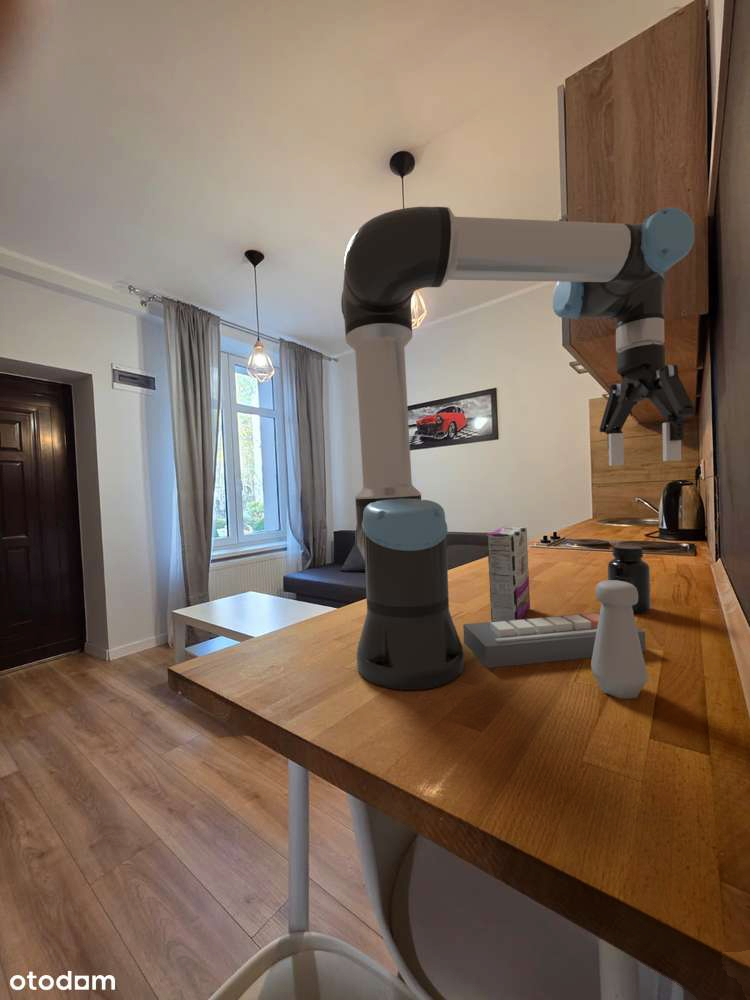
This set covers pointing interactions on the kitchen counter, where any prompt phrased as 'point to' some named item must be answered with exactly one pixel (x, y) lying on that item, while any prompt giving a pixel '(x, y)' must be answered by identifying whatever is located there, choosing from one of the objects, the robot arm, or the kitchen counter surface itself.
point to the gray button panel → (534, 639)
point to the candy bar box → (508, 573)
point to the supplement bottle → (632, 574)
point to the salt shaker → (618, 642)
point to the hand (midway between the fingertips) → (641, 463)
